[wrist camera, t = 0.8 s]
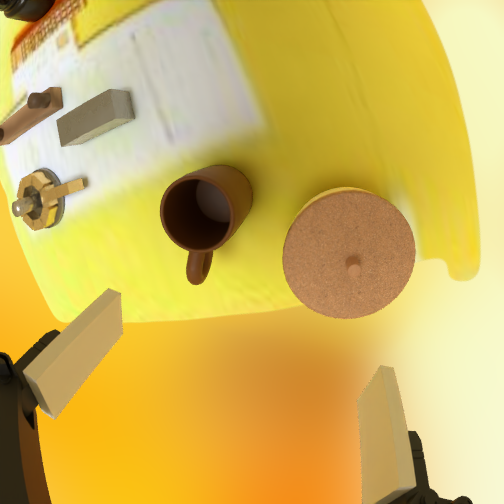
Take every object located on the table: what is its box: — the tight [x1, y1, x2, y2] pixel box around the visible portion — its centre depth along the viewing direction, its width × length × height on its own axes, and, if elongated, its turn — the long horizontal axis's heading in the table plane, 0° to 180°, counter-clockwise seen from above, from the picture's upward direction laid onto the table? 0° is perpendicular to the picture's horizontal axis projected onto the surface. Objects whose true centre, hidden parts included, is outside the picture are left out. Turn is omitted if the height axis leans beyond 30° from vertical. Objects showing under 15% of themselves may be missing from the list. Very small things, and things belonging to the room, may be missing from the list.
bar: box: [56, 89, 135, 147], centre depth 32 cm, size 10×4×4 cm, turn 103°
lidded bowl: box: [283, 187, 415, 319], centre depth 29 cm, size 13×13×11 cm
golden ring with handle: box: [17, 171, 84, 231], centre depth 37 cm, size 9×16×3 cm, turn 101°
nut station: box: [12, 169, 65, 228], centre depth 37 cm, size 10×10×7 cm
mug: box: [160, 165, 253, 285], centre depth 32 cm, size 12×8×9 cm, turn 172°
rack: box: [0, 87, 63, 146], centre depth 33 cm, size 4×17×6 cm, turn 101°
